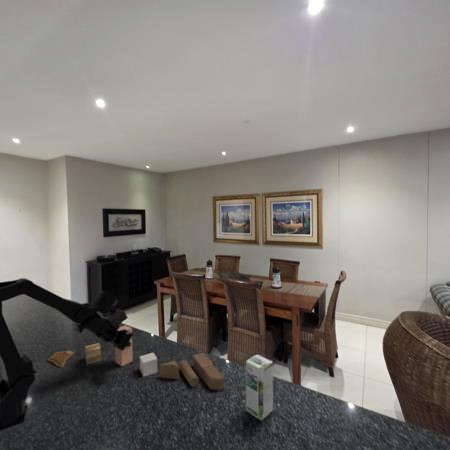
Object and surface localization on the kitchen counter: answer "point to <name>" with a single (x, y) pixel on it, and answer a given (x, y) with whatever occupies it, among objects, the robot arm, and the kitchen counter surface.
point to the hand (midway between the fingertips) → (126, 343)
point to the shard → (60, 358)
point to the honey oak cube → (93, 353)
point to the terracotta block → (124, 351)
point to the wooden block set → (201, 367)
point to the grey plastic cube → (148, 364)
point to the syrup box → (259, 386)
